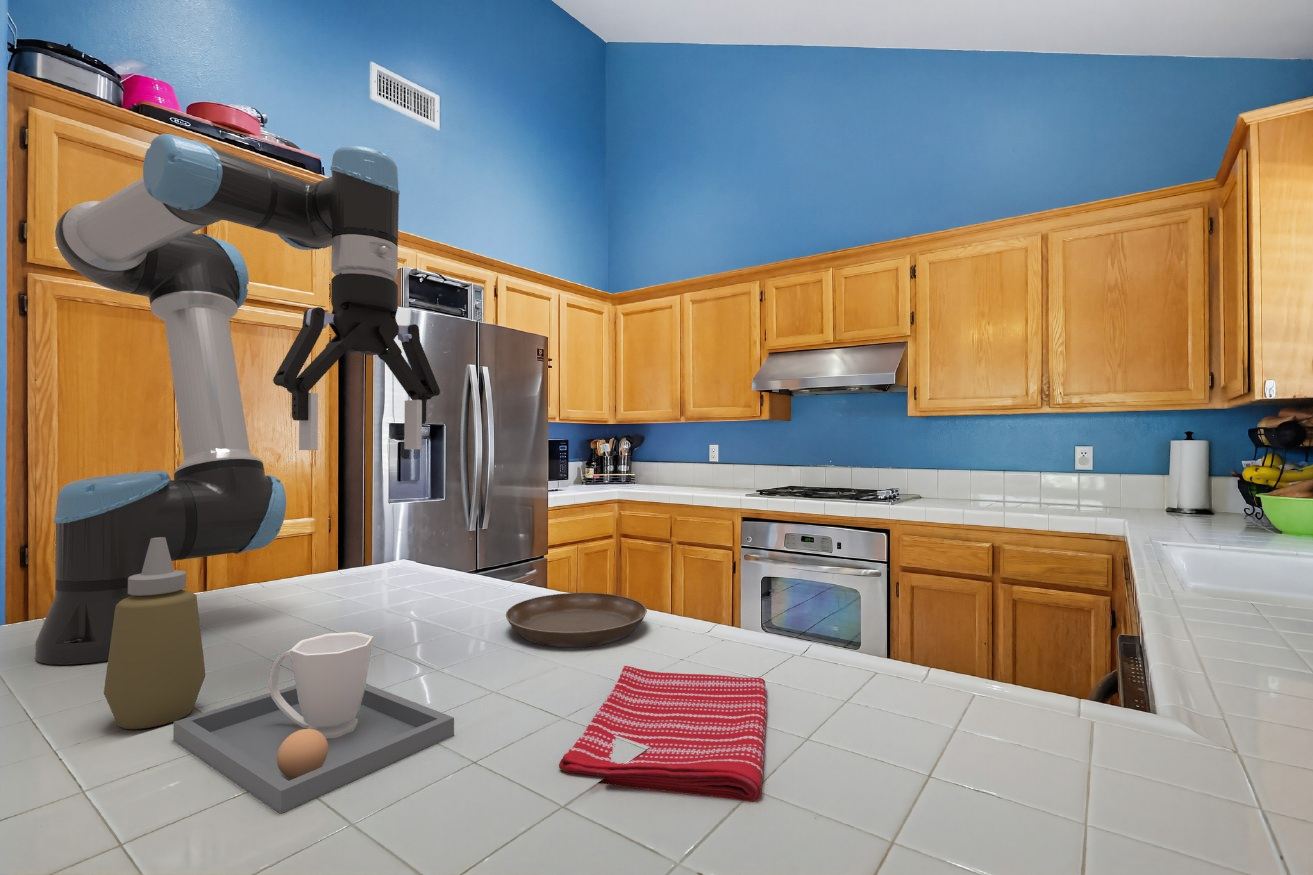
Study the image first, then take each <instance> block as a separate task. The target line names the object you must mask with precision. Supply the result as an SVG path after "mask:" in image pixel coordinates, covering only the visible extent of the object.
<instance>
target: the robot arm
mask: <svg viewBox="0 0 1313 875" xmlns="http://www.w3.org/2000/svg"><path fill="white" fill-rule="evenodd" d="M142 167H143V168H142V177H141V178H139V179H137V180H135V181H134V182H132V183H130V184H128V185H127V186H125V187H123V188H121V189H120V190H118V191H116V192H115V193H113V194H112V195H110V196H108V197H106V198H105V199H103V200H101V201H99V200H89V201H84V202H81V203H78V204H76V205H74V206H73V207H71V208H69V209H68V210H66V211H65V212H64V213H63V214H62V215H61V216H60V218H59V219H58V221H57V223H56V227H55V230H54V231H55V232H54V234H55V235H54V236H55V243H56V246H57V249H58V250H59V252H60V254H61V255H62V258H63V259H64V260H65V262H66V263H67V264H68V265H69V267H71V268H73V270H75V271H76V272H77V273H79V275H81V276H82V277H84V278H85V279H88V280H89V281H90V282H92V283H93V284H97V285H98V286H101V287H104V288H106V289H108V290H113V291H115V292H119V293H127V294H130V295H136V296H142V297H148V299H149V306H150V312H151V313H152V315H154V316H155V317H157V318H158V319H160V320H161V321H163V322H164V328H165V332H166V333H165V335H166V341H167V346H168V348H167V349H168V356H169V362H170V369H171V377H172V384H173V389H174V390H173V391H174V397H175V404H176V412H177V419H178V427H179V432H180V439H181V447H182V453H183V462H182V463H181V464H180V465H179V466H178V467H177V468H176V469H175V470H173V480H172V478H171V476H170V474H169V472H167V471H165V470H147V471H139V472H127V473H119V474H117V473H116V474H109V475H102V476H96V477H89V478H84V479H80V480H75V481H72V482H69V483H67V484H65V485H64V486H63V487H62V488H60V490H59V492H58V494H57V498H56V507H55V514H54V517H53V523H54V524H55V550H54V551H55V556H54V557H55V558H54V560H55V563H54V566H55V567H54V568H55V569H54V571H55V572H54V573H55V574H54V579H55V583H54V584H55V586H54V598H53V600H52V602H51V605H50V607H49V609H48V612H47V615H46V616H45V619H44V622H43V624H42V626H41V629H40V631H39V633H38V636H37V639H36V640H35V653H34V654H35V655H34V656H35V657H34V658H35V661H36V662H38V663H41V664H48V665H60V666H61V665H78V664H80V665H81V664H90V663H91V664H92V663H100V662H106V661H107V662H108V658H109V650H110V643H111V636H112V628H113V621H114V614H115V607H116V604H118V603H119V602H120V601H121V600H123V599H125V598H127V597H130V596H132V595H130V594H128V578H129V577H130V576H133V575H136V574H141V573H142V569H143V566H144V562H145V558H146V555H147V551H148V547H149V543H150V540H151V538H157V537H165V538H166V542H167V546H168V550H169V553H170V557H171V561H172V562H174V561H181V560H182V561H183V560H189V559H191V560H192V559H197V558H198V559H199V558H205V557H212V556H220V555H227V554H235V555H237V554H238V555H239V554H242V553H243V552H244V553H245V552H249V551H252V550H253V551H254V550H259V549H263V548H265V547H267V546H269V545H270V544H271V543H272V542H274V540H275V539H276V538H277V536H278V535H279V533H280V530H281V529H282V526H283V524H284V520H285V518H286V513H287V512H286V510H287V496H286V494H287V493H286V490H285V487H284V484H283V483H281V480H280V479H279V478H278V477H276V476H273V475H269V474H267V475H266V472H265V466H264V463H263V460H261V459H260V458H258V457H257V456H255V455H254V454H252V452H251V450H250V444H249V438H248V437H249V436H248V430H247V424H246V418H245V413H244V406H243V401H242V394H241V388H240V383H239V382H240V381H239V376H238V370H237V362H236V357H235V351H234V346H233V338H232V331H231V326H230V320H231V319H232V318H234V317H235V316H236V314H237V313H238V311H239V308H241V307H242V306H243V305H244V303H245V302H246V299H247V297H248V294H249V290H248V288H247V287H248V285H249V284H250V281H249V280H250V279H249V272H248V267H247V263H246V261H245V259H244V257H243V255H242V254H241V252H240V251H239V249H237V248H236V247H235V245H233V244H231V243H229V242H228V241H225V240H222V239H220V238H216V237H213V236H211V235H209V234H206V233H195V232H197V231H199V230H201V229H204V228H206V227H208V226H211V225H213V224H215V223H218V222H221V221H226V222H231V223H234V224H238V225H241V226H245V227H250V228H254V229H256V230H261V231H264V232H268V233H271V234H275V235H277V236H278V237H279V238H280V239H281V240H283V241H284V242H285V243H286V244H288V245H289V246H290V247H291V248H292V247H293V248H295V249H298V250H304V251H311V250H321V249H326V248H330V247H331V258H330V259H331V260H330V261H331V262H330V263H331V264H330V265H331V266H330V267H331V269H330V270H331V272H332V273H333V274H334V276H333V277H332V278H331V280H330V281H331V282H330V283H331V285H330V288H331V291H330V296H331V297H330V298H331V299H330V303H331V307H332V311H331V313H330V312H329V311H325V310H324V308H323V307H320V306H318V307H313V308H309V309H305V311H303V319H302V326H301V329H300V330H299V332H298V334H297V336H296V338H295V339H294V341H293V343H292V344H291V346H290V348H289V350H288V352H287V353H286V355H285V356H284V358H283V361H282V362H281V364H280V366H279V368H278V370H277V371H276V373H275V374H274V375H273V376H274V377H273V379H272V382H273V384H274V385H275V386H277V387H282V388H284V389H286V391H287V392H288V393H289V394H290V393H291V418H292V421H298V450H299V451H318V445H319V444H318V441H319V439H318V436H319V435H318V434H319V433H318V432H319V430H318V429H319V427H318V426H319V425H318V424H319V423H318V421H319V420H318V419H319V412H318V411H319V403H318V402H319V393H318V392H310V391H311V390H312V388H314V387H315V385H316V384H317V383H318V382H320V379H322V378H323V376H325V375H326V373H327V372H328V371H329V370H330V369H331V368H332V367H333V366H334V365H335V364H336V362H338V360H340V358H341V357H342V356H344V354H346V353H347V352H348V353H350V354H357V353H361V354H364V355H367V356H376V355H377V356H378V358H379V359H380V360H382V361H383V362H384V363H385V365H386V366H387V367H388V369H389V370H390V371H391V373H392V375H393V376H394V377H395V378H396V380H397V382H399V384H400V385H401V387H402V389H403V390H404V391H405V393H406V394H407V395H408V397H409V398H410V400H409V399H408V400H407V399H405V400H404V426H403V427H404V429H403V430H404V432H403V433H404V436H403V437H404V439H403V440H404V447H403V448H404V450H422V447H423V445H422V444H423V443H422V442H423V440H422V438H423V437H422V435H423V433H422V432H423V431H422V429H423V426H422V425H425V424H426V422H427V401H428V400H431V399H432V398H433V397H438V396H439V395H440V393H441V390H440V388H439V385H438V382H437V380H436V377H435V374H434V372H433V370H432V367H431V364H430V363H429V360H428V357H427V354H426V353H425V350H424V347H423V345H422V343H421V336H420V328H419V325H417V324H413V323H412V324H407V325H401V324H399V325H398V322H397V319H396V315H397V312H398V309H399V307H398V306H399V297H398V296H399V286H398V284H397V283H396V282H395V281H396V280H397V279H398V277H399V276H398V269H399V268H398V265H399V263H398V262H399V261H398V259H399V258H398V256H399V252H398V251H399V247H398V246H399V244H398V243H399V211H400V210H399V209H400V208H399V207H400V204H399V203H400V202H399V201H400V194H401V193H400V189H399V179H398V178H399V177H398V176H399V175H398V167H397V164H396V162H395V161H394V160H393V158H391V157H390V156H389V155H387V154H386V153H385V152H382V151H379V150H377V149H375V148H371V147H368V146H362V145H344V146H341V147H339V148H337V149H336V150H334V153H333V154H332V159H331V166H330V167H329V168H330V169H329V170H330V172H331V176H330V177H327V178H326V179H323V180H320V181H317V182H311V181H308V180H304V179H301V178H299V177H296V176H293V175H291V174H288V173H285V172H282V171H280V170H276V169H274V168H271V167H268V166H265V165H262V164H258V163H256V162H254V161H251V160H248V159H245V158H242V157H240V156H238V155H234V154H232V153H230V152H227V151H223V150H221V149H218V148H215V147H213V146H210V145H208V144H207V143H204V142H202V141H198V140H193V139H188V138H185V137H183V136H182V137H181V136H177V135H174V134H171V133H162V134H159V135H157V136H155V137H154V138H153V139H152V140H151V142H150V145H149V147H148V148H147V149H146V151H145V155H144V159H143V165H142ZM328 325H329V327H330V328H331V330H332V332H333V334H335V335H334V336H333V337H332V339H330V340H329V341H328V343H327V344H326V345H325V348H324V349H323V350H321V352H320V353H319V354H318V355H317V356H316V357H315V358H314V359H313V360H312V361H311V362H310V363H309V364H308V365H307V366H306V368H305V369H304V370H303V371H302V369H303V367H304V366H305V364H306V361H307V360H308V357H309V356H310V353H311V352H312V351H313V349H314V347H315V345H316V343H317V342H318V340H319V338H320V336H321V335H322V332H323V330H324V329H326V328H327V327H328ZM396 337H397V340H398V341H400V342H401V346H402V349H403V351H404V354H405V356H406V358H405V357H404V356H403V354H402V349H401V347H399V345H398V343H397V342H396V341H395V339H396ZM406 359H407V360H406ZM407 361H408V362H407ZM301 371H302V372H301ZM300 372H301V373H300Z"/></svg>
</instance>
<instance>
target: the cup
mask: <svg viewBox="0 0 1313 875" xmlns="http://www.w3.org/2000/svg"><path fill="white" fill-rule="evenodd" d="M373 642H374V636H373V635H370V634H369V635H368V634H366V633H361V632H358V631H350V632H331V633H330V632H329V633H325V634H320V635H317V636H313V637H309V638H306V639H301V640H299V641H298V642H297V643H295V645H294V646H293V647H291V649H290V650H287V651H285V652H282V653H280V654H279V655H277V657H276V658H275V660H274V661H273V663H272V666H271V670H270V673H269V682H268V688H269V689H268V690H269V693H271V697H272V699H273V701H274V702H275V704H276V705H277V707H278V708H279V709H280V710H281V711H282V712H283V713H284V714H285V715H287V716H288V717H289V718H290V719H291V720H292V721H293V722H295V723H296V724H298V725H300V726H301V727H303V728H308V729H314V730H317V731H319V732H320V733H322V734H323V735H324V737H325V738H326V739H330V738H337V737H340V736H342V735H345V734H347V733H350V732H352V731H354V729H355V728H356V726H357V724H358V719H357V718H355V717H356V715H357V713H358V712H359V710H360V706H361V702H362V698H363V695H364V691H365V687H366V684H367V679H368V674H369V673H368V672H369V667H370V666H369V665H370V660H371V655H372V648H373ZM287 657H289V658H291V659H290V660H291V665H292V670H293V671H292V672H293V675H294V683H295V685H296V690H297V696H298V702H299V705H300V708H301V712H302V715H303V717H302V716H301V715H299V714H298V713H297V712H296V711H295V710H294V709H293V708H292V707H291V706H290V705H289V704H288V703H287V702H286V701H285V700H284V698H283V697H282V696H281V694H280V691H279V690H280V687H279V683H278V682H279V673H280V670H281V664H282V663H283V662H284V660H285V658H287Z"/></svg>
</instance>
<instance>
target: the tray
mask: <svg viewBox="0 0 1313 875" xmlns="http://www.w3.org/2000/svg"><path fill="white" fill-rule="evenodd" d="M279 691H280V694H281V696H282V697H283V698H284V700H285V701H286V702H287V703H288V704H289V705H290V706H291V707H292V708H293V709H294V710H295V711H296V712H297V713H298V714H299V715H301V716H302V717H303V715H302V712H301V708H300V705H299V702H298V696H297V690H296V684H294V685H292V686H288V687H284V688H282V689H279ZM355 718H357V719H358V724H357V726H356V728H355V729H354V731H352V732H350V733H347V734H345V735H342V736H340V737H337V738H330V739H326V740H327V743H328V754H327V757H326V760H325V762H324V763H323V765H322V766H321V767H320V768H318V769H316V770H314V771H311V772H309V773H306V774H304V775H302V776H299V777H297V778H294V779H293V778H289V777H287V776H285V775H284V774H283V773H282V772H281V771H280V770H279V768H278V764H277V754H278V750H279V748H280V746H281V744H282V743H283V741H284V740H285V739H286V738H287V737H288V736H290V735H291V734H292V733H294V732H296V731H299V730H302V729H308V728H303V727H301V726H300V725H298V724H296V723H295V722H293V721H292V720H291V719H290V718H289V717H288V716H287V715H285V714H284V713H283V712H282V711H281V710H280V709H279V708H278V707H277V705H276V704H275V702H274V701H273V699H272V697H271V693H270V692H269V693H264V694H261V695H258V696H255V697H252V698H251V697H250V698H248V699H245V700H241V701H237V702H235V703H231V704H228V705H225V706H222V707H219V708H215V709H212V710H209V711H204V712H202V713H199V714H195V715H191V716H188V717H186V718H185V717H183V718H180V719H178V720H176V721H173V723H172V724H173V726H172V729H173V738H172V739H173V741H174V742H175V743H176V744H178V745H179V746H181V747H182V748H184V749H185V750H187V751H188V752H190V753H191V754H193V755H194V756H196V757H197V758H198V759H200V760H202V761H203V762H204V763H206V764H207V765H208V766H210V767H212V768H213V769H214V770H216V771H218V772H219V773H220V774H222V775H223V776H225V777H226V778H227V779H229V780H230V781H232V782H233V783H235V784H236V785H238V786H239V787H240V788H242V789H244V790H246V791H247V792H248V793H249V794H251V795H252V796H253V797H255V798H256V799H258V800H260V801H261V802H262V803H264V804H265V805H266V806H268V807H269V808H271V809H272V810H274V811H276V812H277V813H278V814H280V815H283V814H284V813H287V812H289V811H292V810H294V809H295V808H298V807H300V806H301V805H304V804H306V803H308V802H311V801H313V800H315V799H317V798H319V797H322V796H324V795H326V794H328V793H331V792H333V791H335V790H337V789H339V788H342V787H344V786H346V785H348V784H351V783H353V782H355V781H357V780H359V779H362V778H363V777H366V776H368V775H371V774H373V773H375V772H377V771H379V770H381V769H382V770H383V769H384V768H386V767H388V766H390V765H392V764H395V763H397V762H400V761H402V760H404V759H406V758H408V757H410V756H412V755H415V754H417V753H420V752H421V751H423V750H426V749H428V748H429V747H433V746H434V745H437V744H439V743H442V742H443V741H446V740H448V739H450V738H452V737H454V736H455V717H454V716H451V715H448V714H446V713H444V712H441V711H438V710H437V709H436V710H435V709H434V708H430V707H427V706H425V705H422V704H419V703H418V702H415V701H412V700H410V699H407V698H404V697H402V696H399V695H398V694H394V693H391V692H389V691H387V690H384V689H381V688H379V687H376V686H373V685H370V684H368V683H366V687H365V691H364V695H363V698H362V702H361V706H360V710H359V712H358V713H357V715H356V717H355Z"/></svg>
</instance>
